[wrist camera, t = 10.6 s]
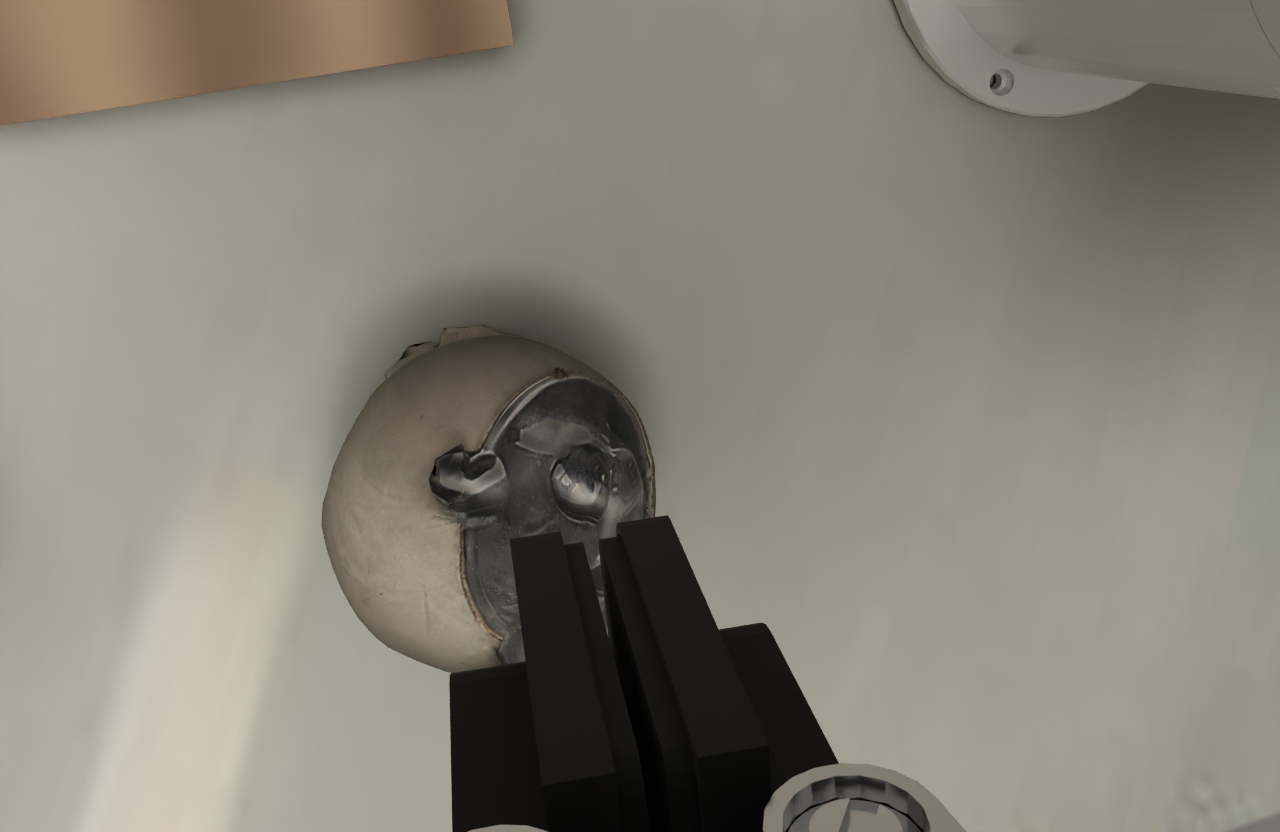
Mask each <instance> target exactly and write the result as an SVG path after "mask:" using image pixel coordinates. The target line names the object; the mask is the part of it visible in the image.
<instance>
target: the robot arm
mask: <svg viewBox="0 0 1280 832" xmlns="http://www.w3.org/2000/svg"><path fill="white" fill-rule="evenodd" d="M894 2H895V5H896V8H897V10H898V13H899V15H900V18H901V21H902V23H903V26H904V28H905V30H906V32H907V33H908V35H909V37H910V38H911V40H912V41H913V43H914V45H915V46H916V48H917V49H918V51H919V52H920V54H921V56H922V57H923V59H924V60H925V61H926V62H927V63H928V64H929V65H930V66H931V67H932V68H933V69H934V70H935V71H936V72H937V73H938V74H939V75H940V76H941V77H942V78H943V79H944V80H945V81H946V82H947V83H948V84H950V85H951V86H953V87H954V88H956V89H957V90H959V91H960V92H962V93H963V94H965V95H966V96H968V97H969V98H971V99H973V100H975V101H978V102H980V103H983V104H986V105H988V106H991V107H993V108H996V109H999V110H1001V111H1007V112H1012V113H1017V114H1022V115H1026V116H1043V117H1063V116H1069V115H1075V114H1081V113H1086V112H1092V111H1095V110H1097V109H1100V108H1102V107H1105V106H1108V105H1110V104H1113V103H1115V102H1118V101H1121V100H1123V99H1125V98H1127V97H1128V96H1130V95H1131V94H1133V93H1135V92H1136V91H1138V90H1140V89H1141V88H1143V87H1145V86H1146V85H1148V84H1149V83H1153V84H1161V85H1170V86H1178V87H1186V88H1194V89H1202V90H1210V91H1218V92H1226V93H1234V94H1242V95H1250V96H1258V97H1266V98H1274V99H1280V0H894ZM993 74H994V75H995V78H996V81H995V84H994V85H993V87H991V88H990V80H991V77H992V75H993ZM509 540H510V547H511V555H512V563H513V570H514V578H515V585H516V593H517V600H518V608H519V615H520V623H521V630H522V638H523V646H524V653H525V661H524V662H518V663H512V664H506V665H499V666H493V667H487V668H481V669H475V670H469V671H463V672H457V673H451V674H450V727H451V778H452V829H453V832H966V831H965V830H964V829H963V827H962V826H961V825H960V824H959V823H958V822H957V821H956V819H955V818H954V817H953V816H952V815H951V814H950V812H949V811H948V810H947V809H946V808H945V807H944V806H943V804H942V803H941V802H940V801H939V800H938V799H937V798H936V797H935V796H934V795H933V794H932V793H930V792H929V791H928V790H927V789H926V788H925V787H923V786H922V785H921V784H920V783H919V782H917V781H915V780H913V779H911V778H909V777H907V776H905V775H902V774H900V773H898V772H896V771H894V770H890V769H886V768H881V767H877V766H873V765H869V764H845V763H838V761H837V759H836V757H835V755H834V753H833V751H832V749H831V747H830V745H829V743H828V741H827V740H826V738H825V736H824V734H823V732H822V730H821V728H820V726H819V724H818V722H817V720H816V718H815V716H814V714H813V712H812V711H811V709H810V707H809V705H808V703H807V701H806V699H805V697H804V695H803V693H802V691H801V689H800V687H799V685H798V683H797V682H796V680H795V678H794V676H793V674H792V672H791V670H790V668H789V666H788V664H787V662H786V660H785V658H784V656H783V654H782V653H781V651H780V649H779V647H778V645H777V643H776V641H775V639H774V637H773V635H772V633H771V631H770V630H769V628H768V627H767V626H766V624H764V623H756V624H750V625H744V626H738V627H732V628H726V629H720V630H718V628H717V625H716V623H715V621H714V618H713V616H712V614H711V612H710V609H709V607H708V605H707V602H706V600H705V598H704V596H703V593H702V591H701V589H700V586H699V584H698V582H697V580H696V577H695V575H694V573H693V570H692V568H691V566H690V564H689V561H688V559H687V557H686V554H685V552H684V550H683V548H682V545H681V543H680V541H679V538H678V536H677V534H676V532H675V529H674V527H673V525H672V522H671V520H670V518H669V517H668V515H667V516H660V517H654V518H647V519H640V520H634V521H627V522H620V523H617V524H616V537H612V538H605V539H599V555H600V565H601V574H602V583H603V592H604V602H605V611H606V620H607V629H608V634H607V631H606V627H605V623H604V619H603V615H602V612H601V608H600V604H599V600H598V597H597V593H596V589H595V585H594V581H593V578H592V574H591V570H590V566H589V562H588V559H587V555H586V551H585V547H584V544H583V542H579V543H572V544H565V545H564V543H563V539H562V535H561V531H560V532H554V533H547V534H540V535H534V536H527V537H520V538H514V539H509Z"/></svg>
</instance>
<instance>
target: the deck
mask: <svg viewBox="0 0 1280 832" xmlns="http://www.w3.org/2000/svg"><path fill="white" fill-rule="evenodd" d="M510 45H514V40H513V35H512V29H511V23H510V17H509V11H508V6H507V0H0V126H1V125H8V124H14V123H20V122H27V121H33V120H39V119H46V118H52V117H58V116H65V115H71V114H78V113H84V112H90V111H97V110H103V109H109V108H116V107H122V106H128V105H135V104H141V103H148V102H154V101H160V100H167V99H173V98H179V97H186V96H192V95H198V94H205V93H211V92H218V91H224V90H230V89H237V88H243V87H249V86H256V85H262V84H269V83H275V82H281V81H288V80H294V79H300V78H307V77H313V76H319V75H326V74H332V73H339V72H345V71H351V70H358V69H364V68H370V67H377V66H383V65H389V64H396V63H402V62H409V61H415V60H421V59H428V58H434V57H440V56H447V55H453V54H459V53H466V52H472V51H479V50H485V49H491V48H498V47H504V46H510Z"/></svg>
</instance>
